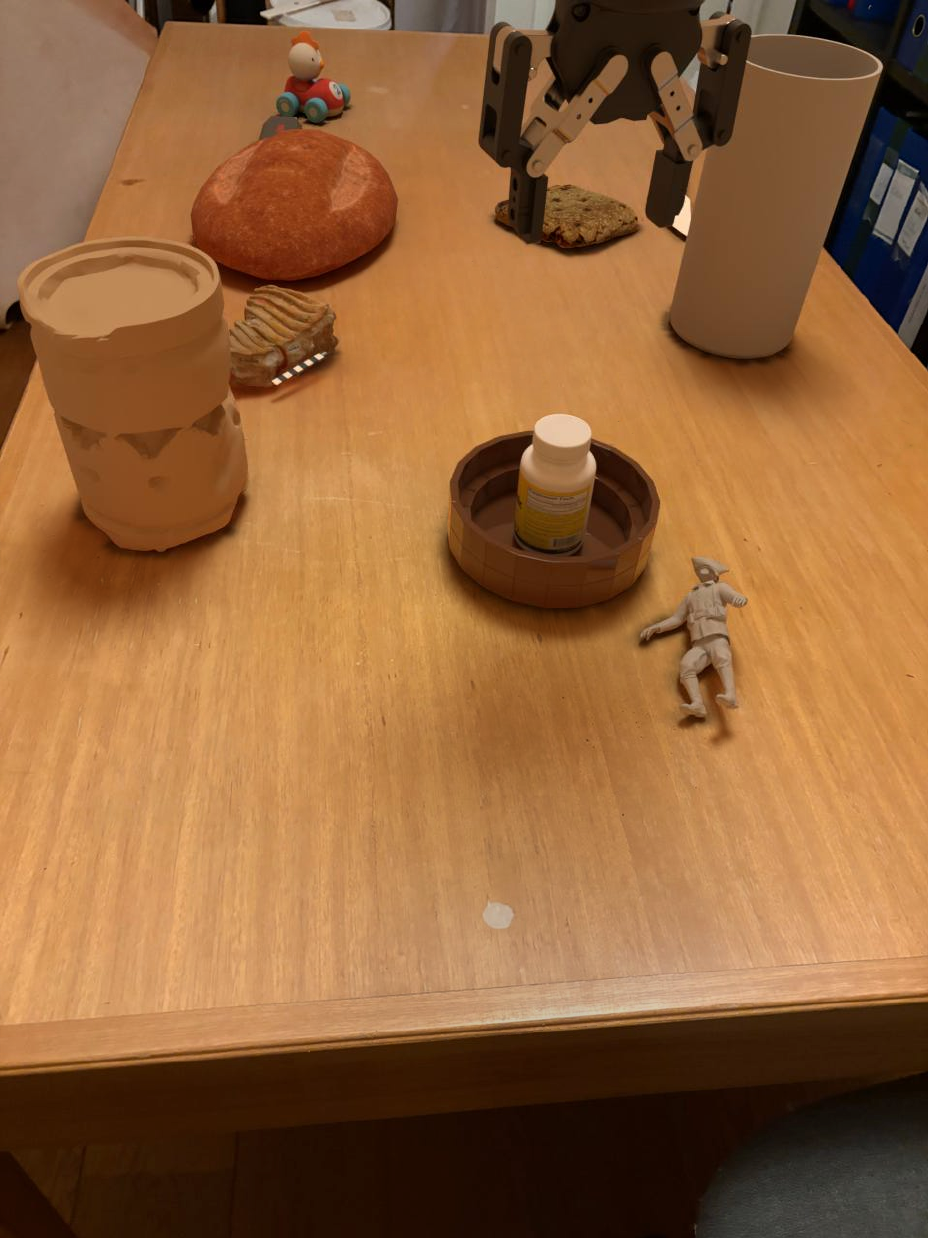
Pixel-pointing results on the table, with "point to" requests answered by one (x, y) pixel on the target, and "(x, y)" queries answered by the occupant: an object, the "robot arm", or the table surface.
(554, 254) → the table surface
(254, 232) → the bread
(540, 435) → the supplement bottle
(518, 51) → the robot arm
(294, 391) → the table surface
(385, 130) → the table surface
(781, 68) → the cylinder vase
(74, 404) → the container
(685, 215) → the knife
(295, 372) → the fossil
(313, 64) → the toy car
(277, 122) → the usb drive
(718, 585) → the soldier figure
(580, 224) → the pastry
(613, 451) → the bowl
